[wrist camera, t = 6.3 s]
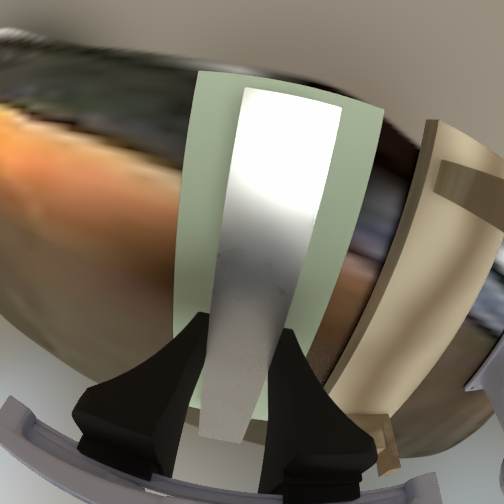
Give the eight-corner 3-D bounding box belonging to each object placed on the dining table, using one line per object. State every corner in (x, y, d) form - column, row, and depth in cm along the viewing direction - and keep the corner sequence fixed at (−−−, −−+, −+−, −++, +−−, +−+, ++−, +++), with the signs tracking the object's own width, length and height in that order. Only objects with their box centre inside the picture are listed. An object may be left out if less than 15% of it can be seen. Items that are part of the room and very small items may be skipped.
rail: (252, 98, 10) (244, 87, 7) (324, 113, 10) (341, 107, 7) (206, 403, 18) (198, 435, 16) (245, 411, 18) (240, 443, 16)
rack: (509, 168, 10) (586, 202, 4) (373, 422, 20) (384, 481, 14) (426, 119, 10) (523, 127, 4) (301, 421, 20) (303, 488, 14)
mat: (379, 110, 10) (384, 109, 10) (274, 415, 19) (274, 421, 19) (202, 73, 10) (198, 70, 10) (177, 397, 19) (175, 402, 19)
